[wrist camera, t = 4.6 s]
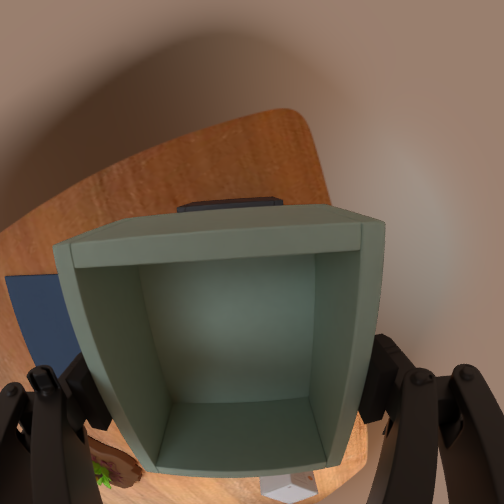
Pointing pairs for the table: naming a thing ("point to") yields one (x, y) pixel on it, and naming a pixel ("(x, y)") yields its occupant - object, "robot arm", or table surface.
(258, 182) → the table surface
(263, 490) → the small box
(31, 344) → the mat
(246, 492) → the table surface
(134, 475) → the plant
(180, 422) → the green open bin
